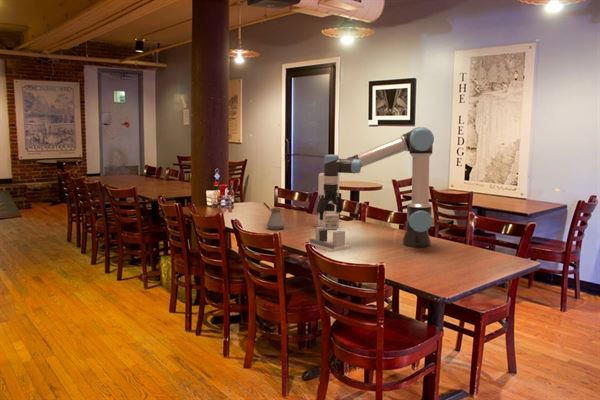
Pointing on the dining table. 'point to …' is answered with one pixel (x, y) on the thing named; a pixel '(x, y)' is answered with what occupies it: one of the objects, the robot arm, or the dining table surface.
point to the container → (331, 217)
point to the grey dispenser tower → (321, 190)
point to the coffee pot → (275, 219)
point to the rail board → (328, 244)
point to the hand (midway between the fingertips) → (329, 224)
